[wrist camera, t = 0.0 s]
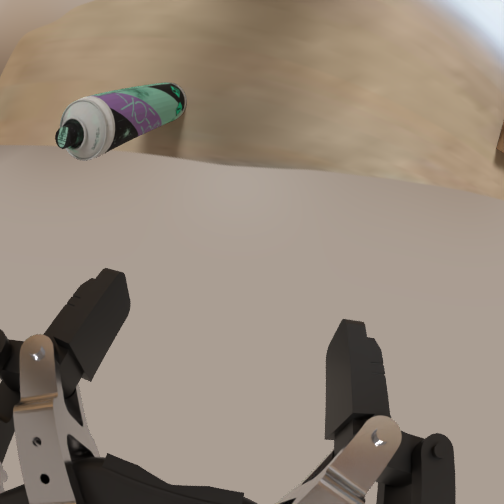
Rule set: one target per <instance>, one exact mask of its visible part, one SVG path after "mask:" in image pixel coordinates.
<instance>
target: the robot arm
mask: <svg viewBox="0 0 504 504" xmlns="http://www.w3.org/2000/svg"><path fill="white" fill-rule="evenodd" d="M129 311H130V298H129V293H128V288H127V283H126V277H125V274H124V273H123V272H119V271H115V270H111V269H108V268H105V269H103V270H102V271H101V272H100V274H99V275H98V276H97V277H96V279H93V278H91V279H89V280H88V281H86V282H85V283H83V284H82V285H81V286H80V287H79V288H78V289H77V291H76V292H75V293H74V294H73V297H71V298H70V300H69V301H68V302H67V305H65V306H64V307H63V309H62V310H61V311H60V313H59V314H58V315H57V317H56V318H55V319H54V321H53V322H52V324H51V325H50V326H49V328H48V329H47V331H46V332H45V333H44V334H43V335H42V334H36V335H33V336H30V337H29V338H28V339H26V340H25V341H24V342H23V341H15V340H9V339H7V337H6V336H5V334H4V332H3V331H2V330H0V379H1V380H2V381H1V383H0V504H257V503H255V502H253V501H252V500H250V499H247V498H245V497H243V496H244V493H240V492H234V491H229V490H224V489H219V488H214V487H210V486H181V485H171V484H168V483H166V482H164V481H162V480H160V479H159V478H157V477H156V476H154V475H152V474H151V473H149V472H147V471H146V470H144V469H143V468H141V467H140V466H138V465H135V464H133V463H130V462H128V461H125V460H123V459H120V458H118V457H115V456H113V455H110V454H108V453H107V456H106V458H103V457H100V456H99V452H98V449H97V446H96V444H95V441H94V439H93V438H92V436H91V434H90V432H89V429H88V426H87V422H86V418H85V413H84V409H83V404H82V399H81V394H80V389H79V385H78V382H79V381H80V379H81V378H84V379H86V380H88V381H90V382H91V381H92V379H93V377H94V375H95V373H96V371H97V369H98V367H99V366H100V364H101V362H102V360H103V358H104V356H105V355H106V353H107V351H108V349H109V347H110V346H111V344H112V342H113V340H114V339H115V337H116V335H117V333H118V332H119V330H120V328H121V326H122V325H123V323H124V321H125V320H126V318H127V316H128V314H129ZM384 374H385V371H384V366H383V358H382V352H381V349H380V347H379V346H378V344H377V343H376V341H375V339H374V338H368V337H367V334H366V329H365V324H364V322H360V321H353V320H346V319H343V320H342V321H341V323H340V325H339V327H338V329H337V331H336V333H335V335H334V337H333V339H332V340H331V342H330V344H329V347H328V350H327V355H326V418H325V439H326V440H327V439H328V440H334V449H333V450H332V451H331V452H330V453H329V454H328V455H327V456H326V457H325V458H324V459H323V461H322V462H321V463H320V464H319V465H318V466H317V467H316V468H315V469H314V470H313V471H312V472H311V473H310V474H309V475H308V476H307V477H306V478H305V479H304V480H303V481H302V482H301V483H300V484H299V485H298V486H296V487H295V488H294V489H293V490H291V491H290V492H289V493H288V494H286V495H285V496H284V497H283V498H282V499H281V500H279V501H278V502H277V503H276V504H365V499H364V497H365V495H366V493H367V492H368V491H369V489H370V488H371V486H372V485H373V484H374V482H375V481H376V482H378V492H377V503H376V504H455V466H454V451H453V446H452V443H451V441H450V440H449V439H448V438H447V437H446V436H445V435H442V434H438V433H436V434H432V435H430V436H428V437H427V438H425V439H423V438H420V437H417V436H413V435H410V434H407V433H405V432H403V431H401V430H400V427H399V426H398V424H397V423H396V422H395V421H394V420H393V419H391V416H390V411H389V402H388V393H387V386H386V378H385V376H384ZM14 431H15V436H16V443H17V449H18V455H19V461H20V466H21V471H22V475H23V480H24V484H23V485H21V486H18V487H16V488H13V489H11V490H8V491H4V488H3V482H6V481H7V478H8V476H7V473H6V471H5V470H3V466H2V462H3V459H4V457H5V454H6V452H7V449H8V446H9V444H10V441H11V439H12V436H13V434H14Z"/></svg>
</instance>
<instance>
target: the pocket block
mask: <svg viewBox="0 0 504 504" xmlns="http://www.w3.org/2000/svg"><path fill="white" fill-rule="evenodd" d="M496 149H498V150H500V151H502V152H503V153H504V122H503V126H502V130H501V134H500V138H499V141H498V145H497V148H496Z"/></svg>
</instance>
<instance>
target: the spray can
mask: <svg viewBox="0 0 504 504" xmlns="http://www.w3.org/2000/svg"><path fill="white" fill-rule="evenodd" d="M186 103H187V100H186V95H185V92H184V91H183V89H182V88H181V87H180V86H178V85H177V84H174V83H158V84H150V85H143V86H137V87H131V88H125V89H120V90H114V91H109V92H105V93H100V94H95V95H91V96H87V97H83V98H81V99H78V100H77V101H74V102H72V103H71V104H70V105H69V106H68V107H67V108H66V109H65V111H64V113H63V115H62V118H61V122H60V129H58V131H57V132H56V136H55V139H56V143H57V145H58V146H59V147H60V148H62V149H64V148H65V149H66V150H67V151H68V153H69V154H70V155H71V156H73V157H74V158H76V159H79V160H84V161H85V160H86V161H87V160H91V159H93V158H97V157H99V156H100V155H102V154H104V153H106V152H108V151H110V150H112V149H114V148H116V147H118V146H120V145H121V144H123V143H125V142H127V141H129V140H132V139H134V138H136V137H138V136H140V135H142V134H144V133H146V132H148V131H151V130H153V129H155V128H157V127H160V126H162V125H164V124H166V123H169V122H171V121H173V120H175V119H177V118H179V117H180V116H181V115H182V114H183V112H184V110H185V108H186Z"/></svg>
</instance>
